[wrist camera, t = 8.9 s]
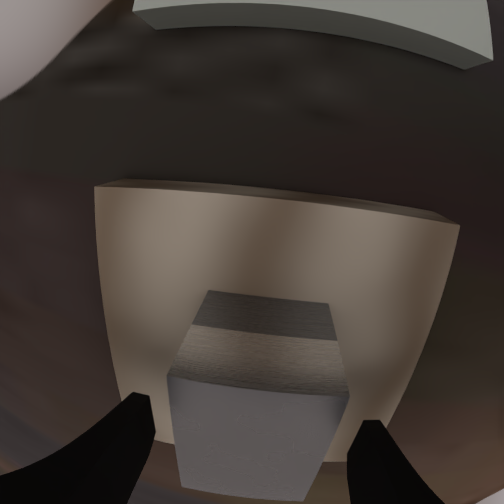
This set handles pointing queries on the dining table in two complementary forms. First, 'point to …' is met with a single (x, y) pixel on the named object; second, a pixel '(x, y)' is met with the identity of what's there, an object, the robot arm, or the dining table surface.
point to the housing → (256, 396)
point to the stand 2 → (269, 279)
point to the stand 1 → (348, 22)
